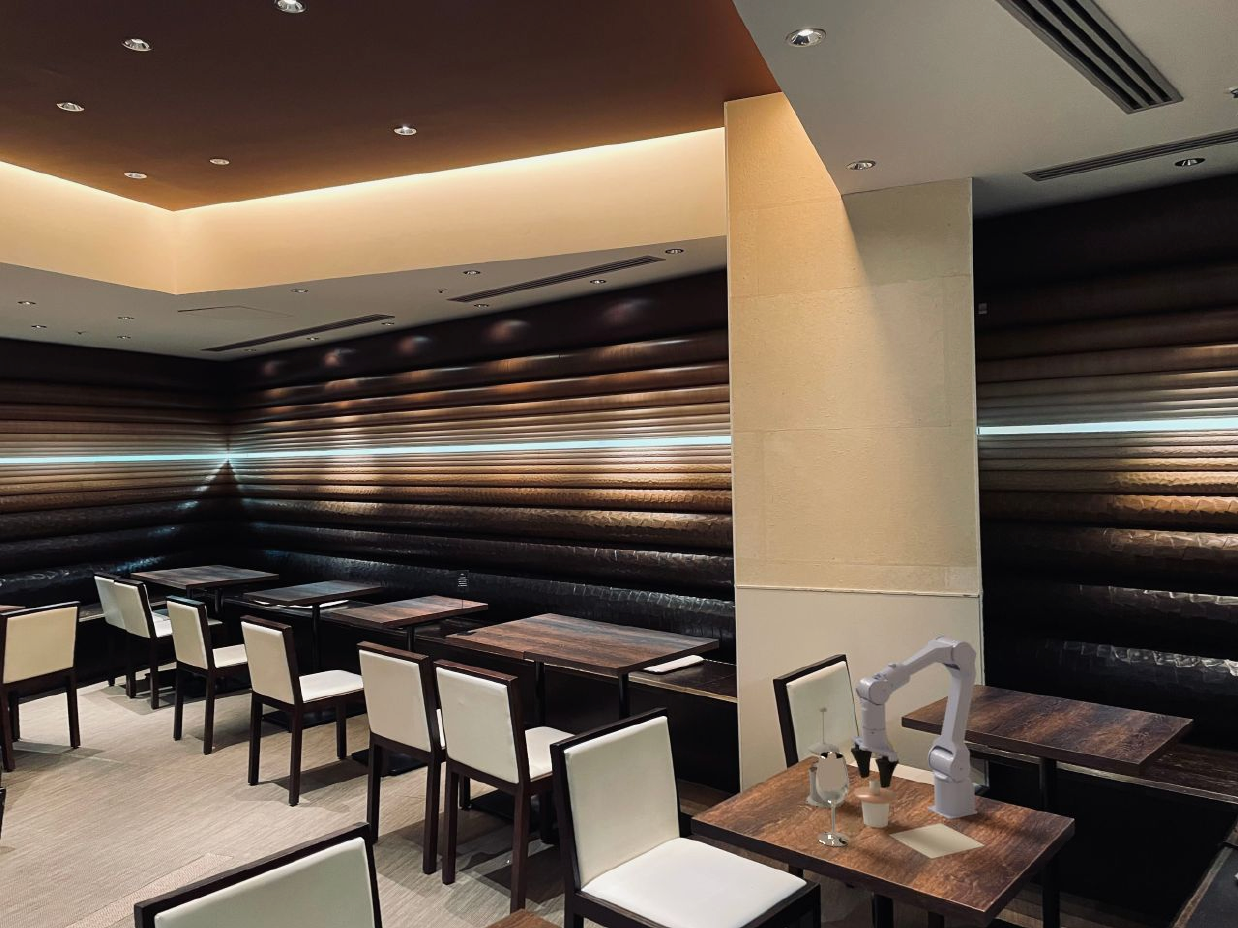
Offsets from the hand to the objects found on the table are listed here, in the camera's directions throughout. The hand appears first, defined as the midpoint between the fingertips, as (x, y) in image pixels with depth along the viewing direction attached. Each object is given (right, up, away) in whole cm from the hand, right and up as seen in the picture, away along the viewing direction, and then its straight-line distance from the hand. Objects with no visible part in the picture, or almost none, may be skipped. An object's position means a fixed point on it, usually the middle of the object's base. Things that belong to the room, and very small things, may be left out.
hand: (874, 781), depth 209 cm
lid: (0, -3, 0) cm, 3 cm away
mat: (+11, -10, -11) cm, 18 cm away
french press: (-8, -11, +16) cm, 21 cm away
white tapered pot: (0, -11, 0) cm, 11 cm away
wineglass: (-13, -11, -9) cm, 19 cm away
